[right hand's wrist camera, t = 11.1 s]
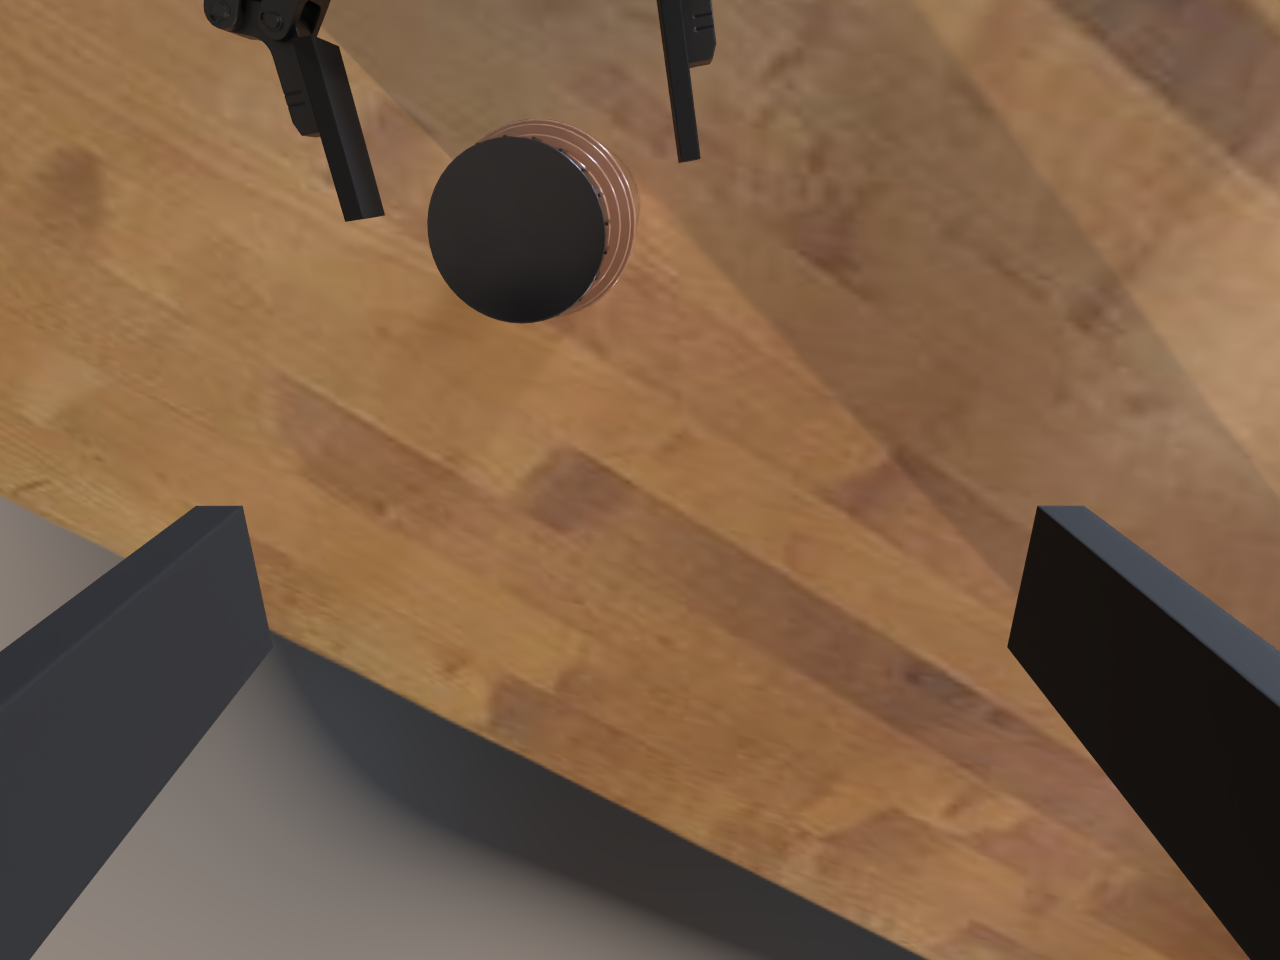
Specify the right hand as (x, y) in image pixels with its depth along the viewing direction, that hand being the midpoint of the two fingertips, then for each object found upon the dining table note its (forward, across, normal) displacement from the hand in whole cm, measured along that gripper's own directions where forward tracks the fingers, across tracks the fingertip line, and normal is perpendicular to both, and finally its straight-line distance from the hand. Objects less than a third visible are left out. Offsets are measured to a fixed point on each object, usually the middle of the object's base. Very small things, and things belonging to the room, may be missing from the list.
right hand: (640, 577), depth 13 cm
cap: (+9, -3, +5) cm, 11 cm away
